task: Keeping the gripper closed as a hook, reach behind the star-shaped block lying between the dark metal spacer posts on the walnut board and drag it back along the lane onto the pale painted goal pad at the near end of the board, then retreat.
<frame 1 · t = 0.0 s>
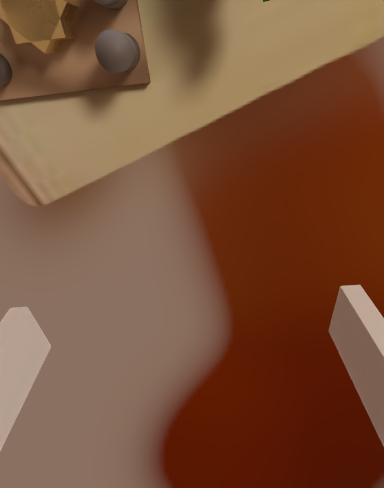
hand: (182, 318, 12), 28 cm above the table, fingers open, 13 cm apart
star-shaped block: (44, 11, 28), point 1 cm above the table, touching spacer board
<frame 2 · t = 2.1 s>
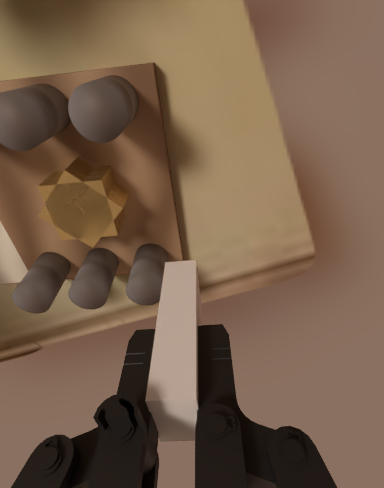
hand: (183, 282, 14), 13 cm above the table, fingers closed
star-shaped block: (91, 195, 24), point 1 cm above the table, touching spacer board
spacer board: (51, 195, 26), on the table
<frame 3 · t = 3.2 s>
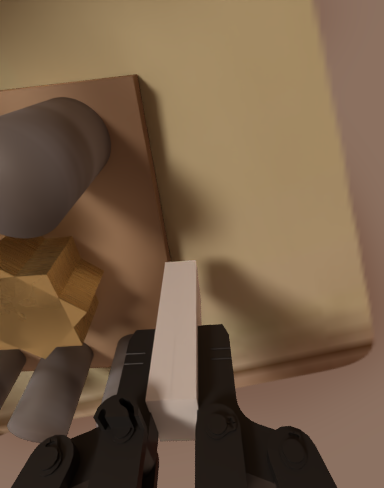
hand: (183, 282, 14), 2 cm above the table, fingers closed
star-shaped block: (45, 275, 16), point 1 cm above the table, touching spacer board
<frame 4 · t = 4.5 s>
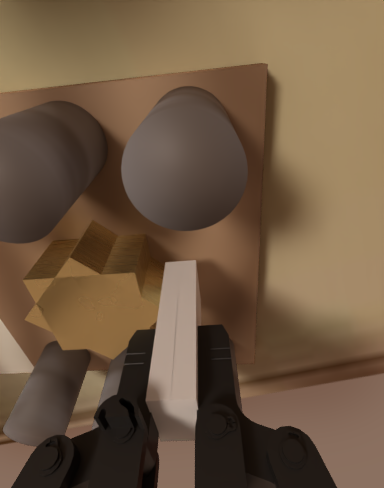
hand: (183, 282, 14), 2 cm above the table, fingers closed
star-shaped block: (110, 273, 16), point 1 cm above the table, touching gripper
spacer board: (66, 265, 17), on the table
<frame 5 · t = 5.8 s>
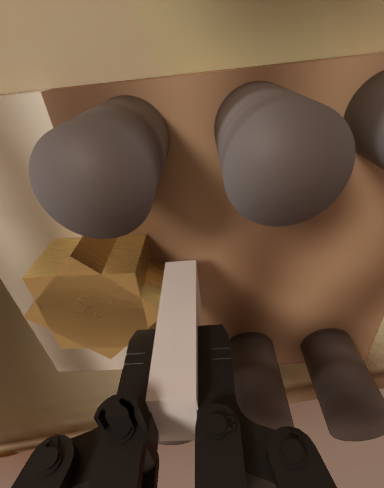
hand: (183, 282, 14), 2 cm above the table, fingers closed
star-shaped block: (110, 273, 16), point 1 cm above the table, touching gripper
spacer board: (195, 258, 16), on the table
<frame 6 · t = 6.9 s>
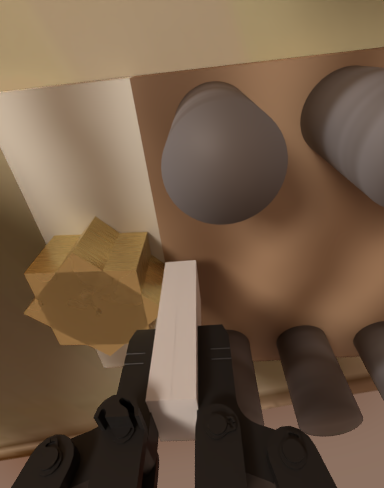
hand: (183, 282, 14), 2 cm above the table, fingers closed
star-shaped block: (110, 270, 16), point 1 cm above the table, touching gripper, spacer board
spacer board: (255, 250, 16), on the table
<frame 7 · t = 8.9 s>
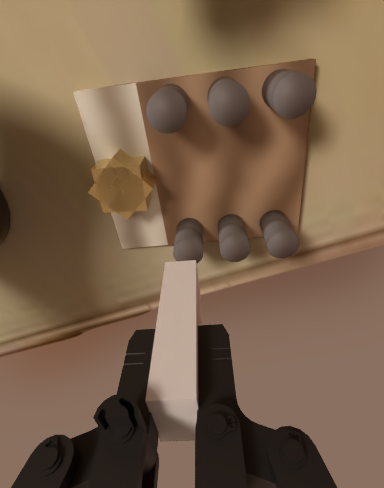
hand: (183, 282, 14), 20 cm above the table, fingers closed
star-shaped block: (126, 179, 31), point 1 cm above the table, touching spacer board
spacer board: (200, 169, 31), on the table
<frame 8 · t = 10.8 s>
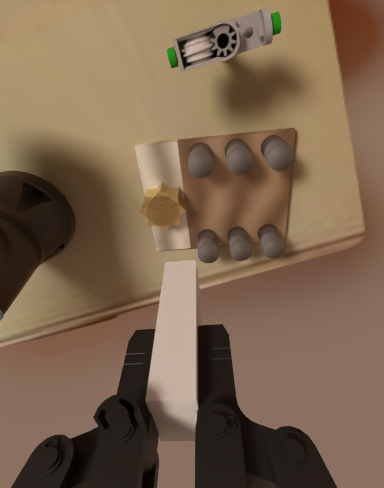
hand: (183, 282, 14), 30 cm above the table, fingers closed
star-shaped block: (165, 202, 44), point 1 cm above the table, touching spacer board
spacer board: (216, 195, 44), on the table
mechanical component: (216, 43, 34), on the table
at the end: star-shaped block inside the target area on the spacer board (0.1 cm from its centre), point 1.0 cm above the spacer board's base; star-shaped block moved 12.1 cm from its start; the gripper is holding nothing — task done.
